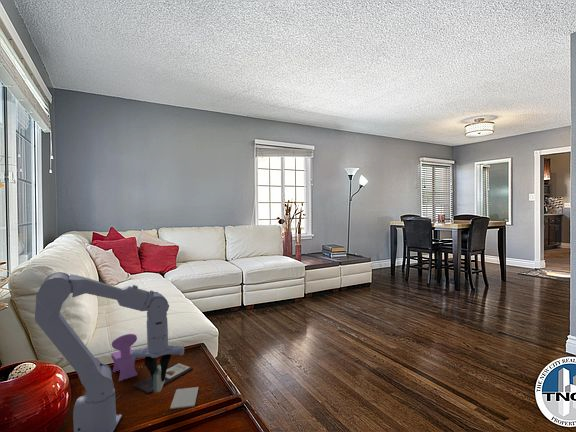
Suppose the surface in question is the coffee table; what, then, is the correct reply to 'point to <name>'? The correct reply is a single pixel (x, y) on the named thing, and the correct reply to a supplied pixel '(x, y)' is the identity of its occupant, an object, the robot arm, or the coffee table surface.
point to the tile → (157, 380)
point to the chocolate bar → (171, 374)
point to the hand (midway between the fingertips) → (159, 380)
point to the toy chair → (124, 356)
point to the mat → (184, 398)
